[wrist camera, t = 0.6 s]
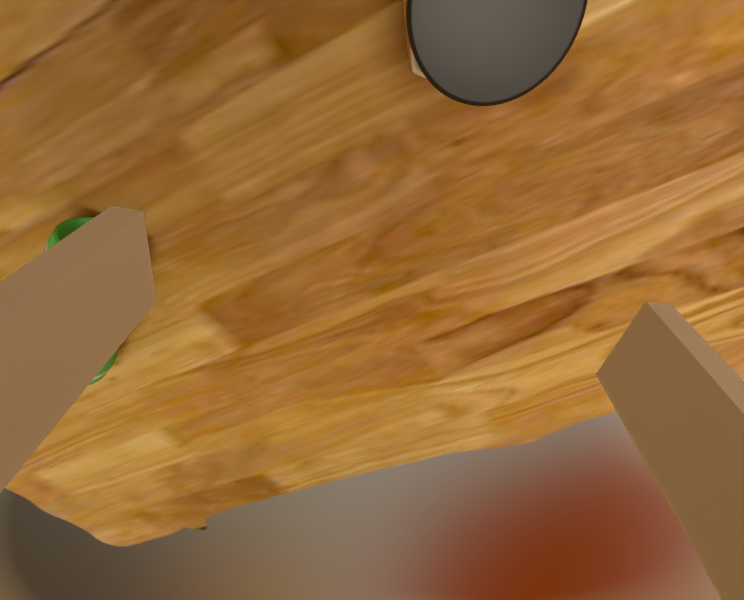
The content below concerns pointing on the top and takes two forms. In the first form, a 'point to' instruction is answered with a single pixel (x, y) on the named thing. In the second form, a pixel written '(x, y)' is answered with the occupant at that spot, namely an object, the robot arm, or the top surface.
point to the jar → (489, 44)
